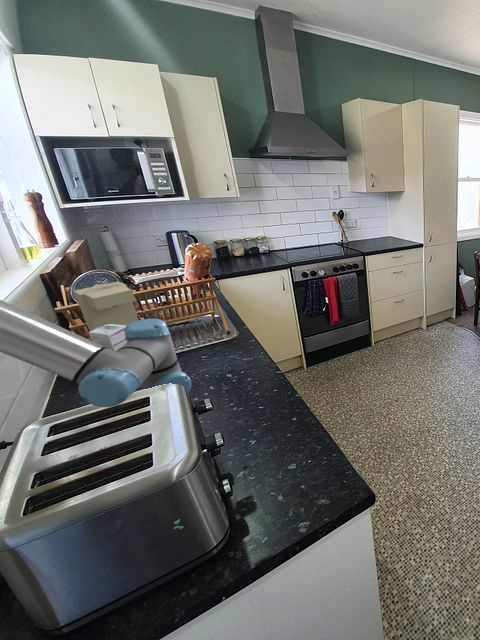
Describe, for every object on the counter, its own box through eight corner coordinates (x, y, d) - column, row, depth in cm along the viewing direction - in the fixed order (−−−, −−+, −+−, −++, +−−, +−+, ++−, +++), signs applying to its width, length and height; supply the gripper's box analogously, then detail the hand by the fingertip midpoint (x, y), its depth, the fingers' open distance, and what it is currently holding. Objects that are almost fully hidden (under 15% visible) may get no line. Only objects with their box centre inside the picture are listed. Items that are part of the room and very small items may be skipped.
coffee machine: (123, 374, 112) (95, 303, 102) (100, 358, 120) (72, 290, 110) (165, 359, 122) (143, 292, 111) (141, 344, 130) (118, 281, 119)
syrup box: (143, 368, 102) (127, 324, 96) (125, 380, 96) (106, 333, 90) (125, 366, 102) (108, 322, 96) (106, 378, 97) (87, 331, 91)
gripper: (100, 402, 81) (66, 371, 92) (191, 364, 97) (152, 342, 108) (88, 375, 78) (54, 346, 89) (184, 340, 94) (145, 320, 105)
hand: (108, 344), depth 98 cm, fingers closed on syrup box, 7 cm apart
